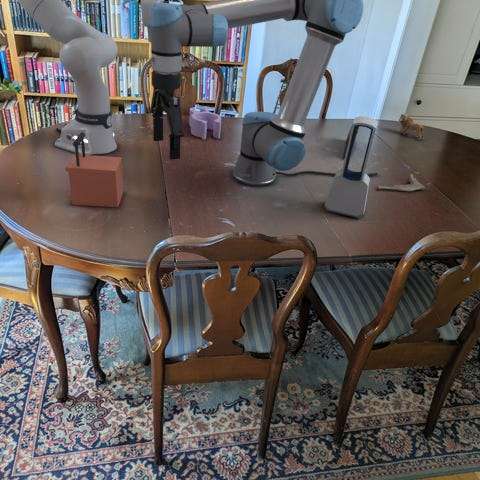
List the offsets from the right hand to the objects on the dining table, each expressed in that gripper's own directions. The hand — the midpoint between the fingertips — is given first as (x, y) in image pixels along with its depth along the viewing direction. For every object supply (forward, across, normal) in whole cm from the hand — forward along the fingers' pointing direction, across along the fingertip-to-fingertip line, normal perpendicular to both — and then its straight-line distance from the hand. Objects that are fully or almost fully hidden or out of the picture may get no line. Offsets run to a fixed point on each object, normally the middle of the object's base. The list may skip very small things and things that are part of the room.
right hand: (166, 149), depth 131 cm
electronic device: (+20, +19, +53) cm, 60 cm away
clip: (+20, -59, +38) cm, 73 cm away
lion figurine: (+20, -31, +131) cm, 137 cm away
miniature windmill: (+20, -58, +75) cm, 96 cm away
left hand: (-24, -27, +6) cm, 37 cm away
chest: (+19, -12, -17) cm, 29 cm away
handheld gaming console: (+20, -24, +90) cm, 95 cm away
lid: (+8, -13, -18) cm, 23 cm away
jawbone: (+20, +9, +86) cm, 88 cm away
